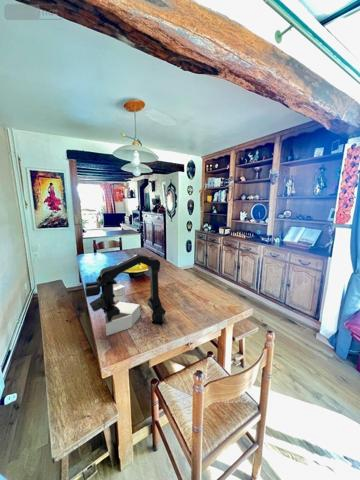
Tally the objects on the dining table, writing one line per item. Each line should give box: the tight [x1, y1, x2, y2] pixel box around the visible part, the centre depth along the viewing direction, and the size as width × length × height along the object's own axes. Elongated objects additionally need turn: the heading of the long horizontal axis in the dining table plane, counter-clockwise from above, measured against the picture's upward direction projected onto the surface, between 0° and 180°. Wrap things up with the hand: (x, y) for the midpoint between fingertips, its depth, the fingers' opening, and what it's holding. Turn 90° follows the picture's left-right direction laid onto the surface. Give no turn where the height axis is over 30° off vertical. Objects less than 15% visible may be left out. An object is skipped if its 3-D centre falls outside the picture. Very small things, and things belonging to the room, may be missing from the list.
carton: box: [112, 301, 141, 327], centre depth 122 cm, size 14×11×8 cm
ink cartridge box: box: [113, 280, 126, 306], centre depth 141 cm, size 9×5×15 cm, turn 141°
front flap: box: [104, 315, 133, 337], centre depth 110 cm, size 14×1×12 cm, turn 124°
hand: (108, 320), depth 106 cm, fingers closed
